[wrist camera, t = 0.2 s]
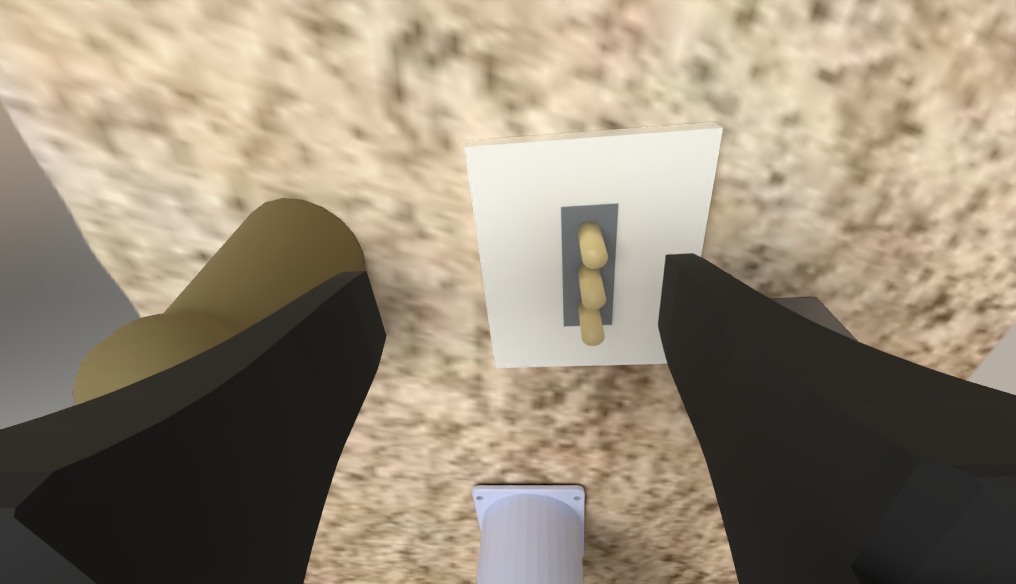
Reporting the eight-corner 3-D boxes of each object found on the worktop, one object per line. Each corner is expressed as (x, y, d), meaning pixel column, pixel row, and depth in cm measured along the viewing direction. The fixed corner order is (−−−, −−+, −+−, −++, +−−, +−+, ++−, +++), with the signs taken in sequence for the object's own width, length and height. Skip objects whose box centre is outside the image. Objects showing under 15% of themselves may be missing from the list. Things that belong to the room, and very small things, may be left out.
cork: (367, 214, 21) (230, 382, 12) (362, 314, 24) (254, 507, 15) (236, 185, 20) (-14, 335, 11) (250, 291, 24) (66, 475, 14)
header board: (677, 350, 24) (696, 398, 21) (496, 355, 25) (491, 402, 22) (714, 121, 18) (749, 145, 15) (467, 140, 19) (454, 166, 16)
